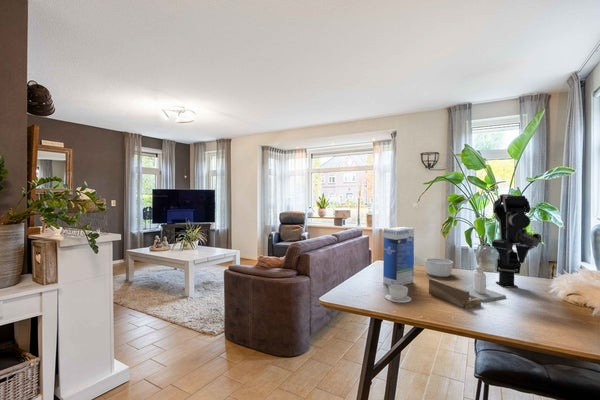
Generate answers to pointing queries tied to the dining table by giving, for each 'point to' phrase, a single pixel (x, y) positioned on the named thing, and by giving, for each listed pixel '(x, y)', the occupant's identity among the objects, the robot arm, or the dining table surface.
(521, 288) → the dining table surface
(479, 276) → the eye dropper bottle
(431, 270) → the ramekin
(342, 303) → the dining table surface
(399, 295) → the teacup
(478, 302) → the walnut stand
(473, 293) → the grey mat
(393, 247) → the string lights box
